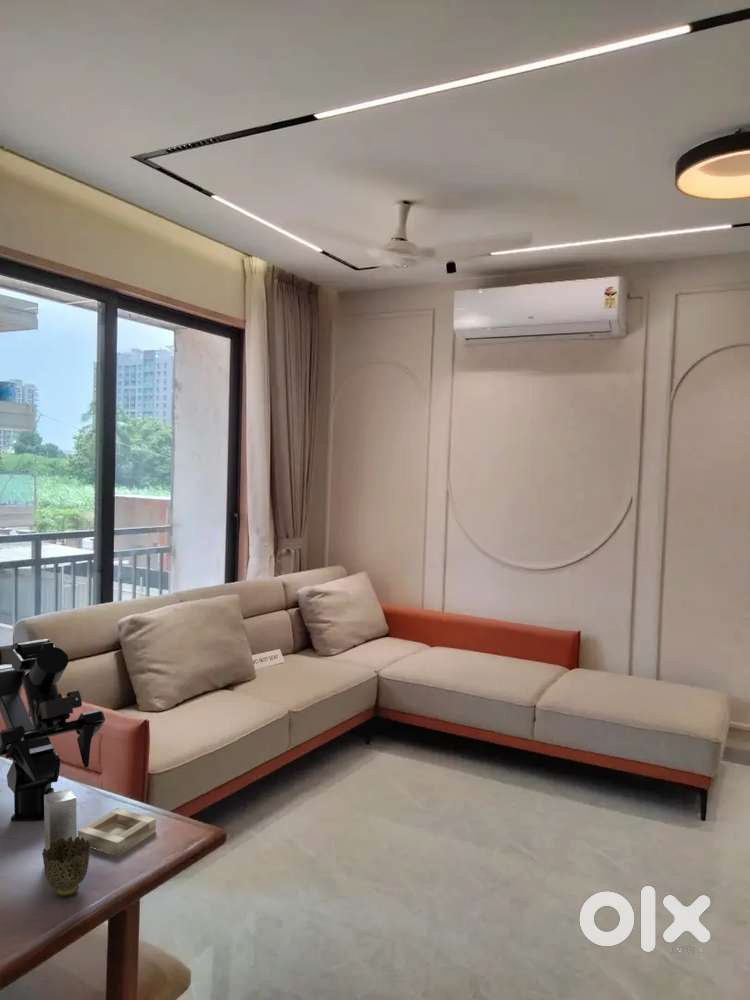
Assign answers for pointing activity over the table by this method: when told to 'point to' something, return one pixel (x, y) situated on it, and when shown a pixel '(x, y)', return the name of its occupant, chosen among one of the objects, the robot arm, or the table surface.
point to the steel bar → (59, 816)
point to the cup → (66, 865)
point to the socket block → (118, 831)
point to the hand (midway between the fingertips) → (61, 773)
